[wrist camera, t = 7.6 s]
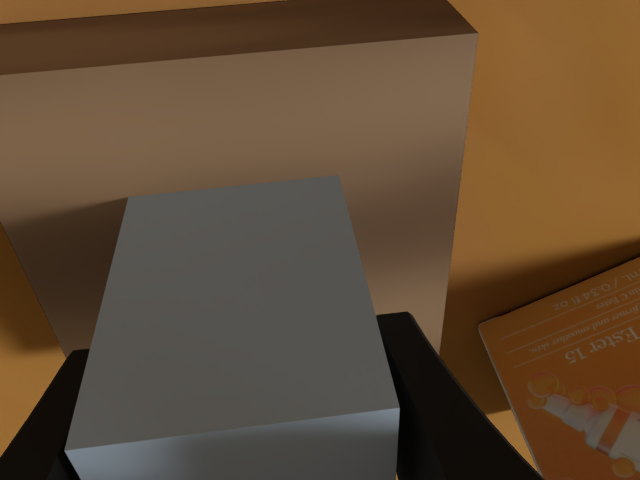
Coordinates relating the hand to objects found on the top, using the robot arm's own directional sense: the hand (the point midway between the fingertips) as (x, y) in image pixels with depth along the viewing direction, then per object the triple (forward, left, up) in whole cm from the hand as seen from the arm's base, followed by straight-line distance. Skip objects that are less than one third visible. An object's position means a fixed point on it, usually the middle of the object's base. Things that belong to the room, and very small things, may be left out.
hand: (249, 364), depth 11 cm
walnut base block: (0, 0, -6) cm, 6 cm away
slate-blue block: (0, 0, -3) cm, 3 cm away
